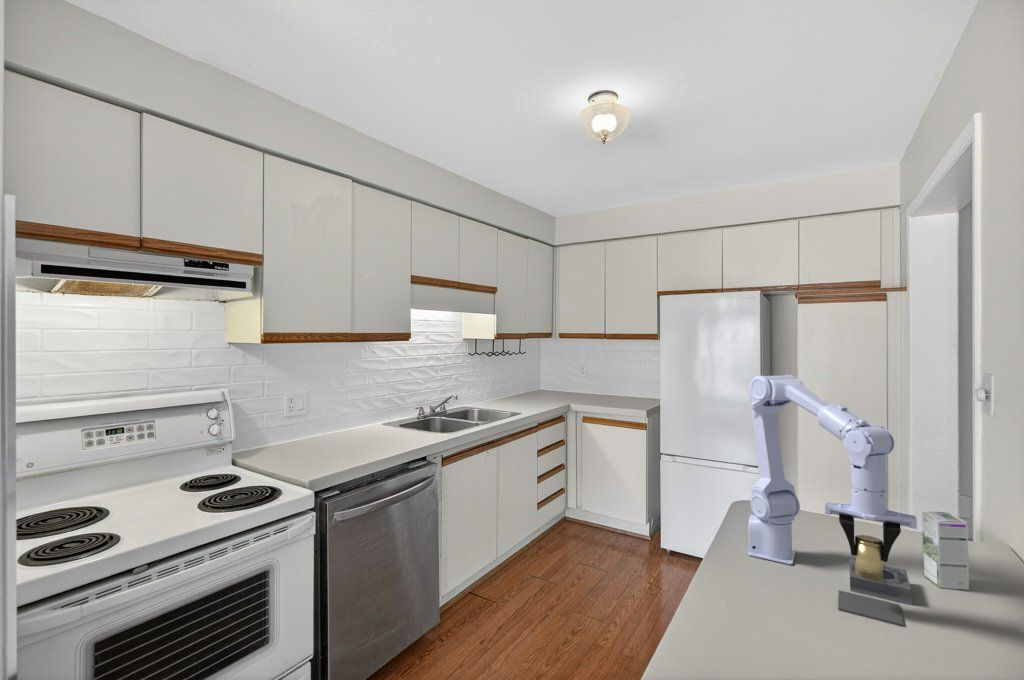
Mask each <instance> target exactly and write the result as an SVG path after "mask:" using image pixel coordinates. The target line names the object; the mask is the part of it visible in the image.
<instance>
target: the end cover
mask: <svg viewBox="0 0 1024 680" xmlns="http://www.w3.org/2000/svg"><path fill="white" fill-rule="evenodd" d="M854 540H855V556H854V559H855V573H856V574H857V575H858V576H860V577H862V578H865V579H869V580H875V581H879V580H882V579H883V565H884V561H883V539H882V540H881V539H880V538H877V537H875V536H870V535H867V534H866V535H865V534H857V535H854Z"/></svg>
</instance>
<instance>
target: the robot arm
mask: <svg viewBox="0 0 1024 680" xmlns="http://www.w3.org/2000/svg"><path fill="white" fill-rule="evenodd" d="M747 387H748V394H749V395H748V396H749V403H750V413H751V420H752V427H753V434H754V435H753V436H754V444H755V452H756V458H757V466H758V472H759V478H758V480H757V481H755V482H754V484H752V485H751V496H750V497H751V498H750V507H751V510H752V512H753V514H750V516H749V518H748V530H747V531H748V533H747V534H748V537H747V538H748V540H747V541H748V542H747V543H748V551H747V552H748V553H747V554H748V556H749V557H755V558H759V559H764V560H768V561H772V562H777V563H781V564H786V565H791V566H792V565H793V564H794V559H795V556H796V550H793V521H795V517H796V516H798V514H799V512H800V510H801V504H800V500H799V497H798V495H797V494H796V491H795V485H793V484H792V483H791V482H790V481H789V480H787V479H786V478H785V477H786V476H785V471H784V466H783V457H782V456H783V455H782V450H781V443H780V438H779V429H778V422H777V416H776V415H777V413H778V412H779V410H781V409H782V408H783V407H784V406H787V405H788V404H790V403H791V402H792V403H793V404H795V405H797V406H799V407H800V408H802V409H804V410H805V411H807V412H809V413H811V414H812V415H813V416H815V417H817V420H818V421H817V422H818V424H819V426H820V427H822V428H823V429H824V430H826V431H827V432H829V433H830V434H831V435H833V436H834V437H836V439H838V440H840V441H842V444H843V447H844V450H845V451H846V452H847V455H848V456H847V457H848V460H847V461H849V464H850V503H839V502H838V503H836V502H828V501H827V502H826V501H825V502H824V515H827V516H828V515H830V516H831V515H836V516H838V519H839V520H838V521H839V524H840V526H841V528H842V529H843V532H844V534H845V536H846V538H847V541H848V544H849V548H850V555H851V556H854V557H855V519H860V520H865V521H873V522H879V523H882V536H883V537H882V541H883V563H884V562H885V563H888V560H889V555H890V552H891V549H892V547H893V545H894V543H895V542H896V540H897V538H898V537H899V536H900V534H901V532H902V531H901V530H902V528H901V526H902V527H907V528H910V529H914V530H917V529H918V519H917V516H916V515H913V514H912V515H911V514H906V513H902V512H897V511H893V510H889V509H888V508H887V507H888V504H887V503H888V501H887V500H888V498H887V497H888V496H887V495H888V494H887V493H888V491H887V490H888V489H887V488H888V487H887V486H888V484H887V483H888V477H887V475H888V474H887V473H888V472H887V470H888V469H887V467H888V465H887V462H888V460H887V459H888V456H887V455H888V454H891V453H892V452H893V450H894V448H895V439H894V436H893V434H892V433H891V432H890V431H889V430H888V429H886V427H885V426H883V425H881V424H870V423H868V421H867V420H866V419H865V418H860V417H858V416H857V415H855V414H854V413H852V412H850V411H849V410H848V409H849V408H848V407H847V406H846V405H844V404H837V403H835V404H828V403H827V402H825V400H823V399H822V398H820V397H819V396H818V395H816V394H815V393H814V392H812V391H811V390H810V389H809V388H807V387H806V386H805V385H804V384H803V381H802V380H801V379H799V378H797V377H796V376H795V375H792V374H784V375H757V376H756V375H755V376H754V377H753V379H752V380H751V381H750V383H749V384H748V386H747Z"/></svg>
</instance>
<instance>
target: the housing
mask: <svg viewBox="0 0 1024 680" xmlns="http://www.w3.org/2000/svg"><path fill="white" fill-rule="evenodd" d="M907 572H908V571H907V569H904V568H899V567H895V566H889V565H884V564H883V579H882V580H879V581H875V580H869V579H865V578H862V577H860V576H858V575H857V574H856V573H855V558H850V557H849V591H851V592H855V593H859V594H863V595H867V596H871V597H876V598H880V599H884V600H889V601H893V602H897V603H902V604H906V605H912V587H911V583H910V579H909V576H908V573H907Z"/></svg>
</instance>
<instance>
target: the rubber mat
mask: <svg viewBox="0 0 1024 680" xmlns="http://www.w3.org/2000/svg"><path fill="white" fill-rule="evenodd" d="M837 601H838V606H837V607H838V608H837V611H841V612H845V613H847V614H848V613H849V614H851V615H852V614H853V615H856V616H861V617H865V618H868V619H872V620H877V621H879V622H883V623H888V624H891V625H895V626H900V627H904V620H903V616H902V610H901V606H900V604H899V603H895V602H890V601H887V600H882V599H878V598H874V597H868V596H864V595H860V594H856V593H853V592H848V591H844V590H838V600H837Z"/></svg>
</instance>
